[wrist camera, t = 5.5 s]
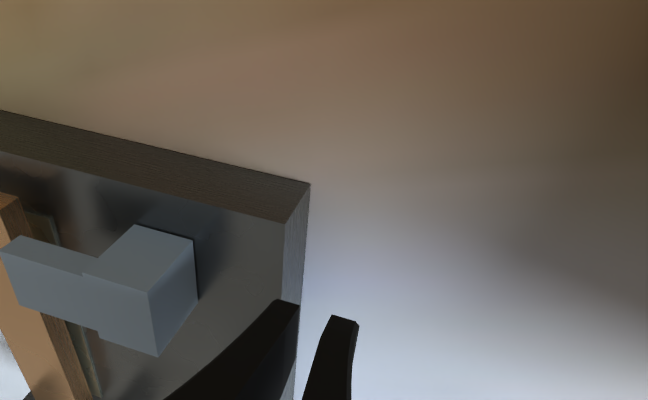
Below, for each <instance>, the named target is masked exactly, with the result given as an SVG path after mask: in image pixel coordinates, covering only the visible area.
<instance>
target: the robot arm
mask: <svg viewBox="0 0 648 400" xmlns="http://www.w3.org/2000/svg"><path fill="white" fill-rule="evenodd" d="M299 312H300V305H298V304H294V303H291V302H287V301H284V300H280V299H275V300H273V301H272V302H271V303H270V305H269V306H268V307H267V308H266V309H265V310H264V311H263V312H262V313H261V314H260V315H259V316H258V317H257V318H256V320H255V321H254V322H253V323H252V324H251V325H250V326H249V327H248V328H247V329H246V330H245V331H243V332H242V333H241V334H240V335H239V336H238V337H237V338H236V339H235V340H234V341H233V342H232V343H231V344H230V345H229V346H227V347H226V348H225V349H224V350H223V351H222V352H221V353H220V354H219V355H218V356H217V357H215V358H214V359H213V360H212V361H211V362H210V363H208V364H207V365H206V366H205V367H204V368H202V369H201V370H200V371H199V372H198V373H196V374H195V375H194V376H193V377H192V378H190V379H189V380H188V381H187V382H185V383H184V384H183V385H182V386H180V387H179V388H178V389H176V390H175V391H174V392H173V393H171V394H170V395H169V396H167V397H166V398H164V399H163V400H280V398H281V396H282V394H283V391H284V388H285V386H286V383H287V380H288V378H289V375H290V372H291V369H292V367H293V364H294V361H295V358H296V348H297V336H298V324H299ZM358 331H359V325H358V324H357V323H356V321H352V320H349V319H345V318H342V317H339V316H335V315H331V317H330V319H329V321H328V323H327V325H326V327H325V329H324V331H323V333H322V336H321V338H320V341H319V344H318V347H317V350H316V354H315V357H314V360H313V364H312V367H311V370H310V374H309V377H308V381H307V384H306V387H305V391H304V394H303V397H302V400H351V378H352V363H353V358H354V352H355V347H356V342H357V336H358Z"/></svg>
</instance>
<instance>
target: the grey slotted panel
mask: <svg viewBox="0 0 648 400" xmlns="http://www.w3.org/2000/svg"><path fill="white" fill-rule="evenodd" d="M310 186H311V184H307V183H303V182H299V181H295V180H291V179H286V178H282V177H278V176H274V175H270V174H265V173H261V172H257V171H253V170H249V169H244V168H240V167H236V166H232V165H228V164H223V163H219V162H215V161H211V160H207V159H202V158H198V157H194V156H190V155H186V154H181V153H177V152H173V151H169V150H165V149H160V148H156V147H152V146H148V145H144V144H139V143H135V142H131V141H127V140H123V139H118V138H114V137H110V136H106V135H102V134H97V133H93V132H89V131H85V130H81V129H76V128H72V127H68V126H64V125H60V124H55V123H51V122H47V121H43V120H39V119H34V118H30V117H26V116H22V115H18V114H13V113H9V112H5V111H1V110H0V192H3V193H7V194H10V195H14V196H18V197H19V198H20V201H21V204H22V207H23V209H24V212H25V215H26V217H27V220H28V223H29V226H30V228H31V231H32V234H33V237H34V239H35V240H39V241H42V242H46V243H49V244H52V245H56V246H59V247H62V248H66V249H69V250H73V251H76V252H79V253H83V254H86V255H89V256H93V257H96V258H98V257H99V256H101V255H102V254H103V253H104V252H105V251H106V250H107V249H108V248H109V247H110V246H111V245H112V244H114V243H115V242H116V241H117V240H118V239H119V238H120V237H121V236H122V235H123V234H124V233H125V232H127V231H128V230H129V229H130V228H131V227H132V226H133V225H134V224H135V225H139V226H142V227H146V228H150V229H153V230H157V231H160V232H164V233H168V234H171V235H175V236H179V237H182V238H186V239H189V240H193V251H194V262H195V273H196V285H197V296H198V304H197V305H196V306H195V308H194V309H193V310H192V312H191V313H190V315H189V316H188V317H187V319H186V320H185V321H184V323H183V324H182V326H181V327H180V328H179V330H178V331H177V332H176V334H175V335H174V337H173V338H172V339H171V341H170V342H169V343H168V345H167V346H166V348H165V349H164V350H163V352H162V353H161V354H160V356H159V357H155V356H152V355H149V354H146V353H143V352H140V351H137V350H134V349H131V348H128V347H125V346H122V345H119V344H116V343H113V342H110V341H107V340H104V339H101V338H99V334H98V331H96V330H93V329H90V328H87V327H84V326H81V325H78V324H75V323H72V322H69V321H66V320H64V321H65V324H66V327H67V329H68V332H69V335H70V338H71V340H72V343H73V346H74V348H75V351H76V354H77V357H78V359H79V362H80V365H81V368H82V370H83V373H84V376H85V379H86V381H87V384H88V387H89V389H90V392H91V395H92V398H93V400H163V399H164V398H166V397H167V396H169V395H170V394H171V393H173V392H174V391H175V390H176V389H178V388H179V387H180V386H182V385H183V384H184V383H185V382H187V381H188V380H189V379H190V378H192V377H193V376H194V375H195V374H196V373H198V372H199V371H200V370H201V369H202V368H204V367H205V366H206V365H207V364H208V363H210V362H211V361H212V360H213V359H214V358H215V357H217V356H218V355H219V354H220V353H221V352H222V351H223V350H224V349H225V348H226V347H227V346H229V345H230V344H231V343H232V342H233V341H234V340H235V339H236V338H237V337H238V336H239V335H240V334H241V333H242V332H243V331H245V330H246V329H247V328H248V327H249V326H250V325H251V324H252V323H253V322H254V321H255V320H256V318H257V317H258V316H259V315H260V314H261V313H262V312H263V311H264V310H265V309H266V308H267V307H268V306H269V305H270V303H271V302H272V301H273V300H275V299H280V300H284V301H287V302H291V303H294V304H298V305H300V309H301V296H302V284H303V272H304V260H305V247H306V235H307V223H308V211H309V198H310ZM299 321H300V312H299ZM298 333H299V324H298ZM297 346H298V336H297ZM296 358H297V348H296ZM296 358H295V361H294V364H293V367H292V369H291V372H290V375H289V378H288V380H287V383H286V386H285V388H284V391H283V394H282V396H281V398H280V400H293V395H294V382H295V370H296ZM23 400H35V398H34V396H33V394H32V392H31V391H30V392H29V393H28V395H27V396H26V397H25V398H24V399H23Z"/></svg>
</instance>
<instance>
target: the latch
mask: <svg viewBox="0 0 648 400" xmlns="http://www.w3.org/2000/svg"><path fill="white" fill-rule="evenodd" d="M0 256H1V259H2V261H3V264H4V267H5V269H6V272H7V274H8V277H9V279H10V282H11V285H12V287H13V290H14V292H15V295H16V298H17V300H18V303H19V305H20V306H23V307H26V308H29V309H33V310H36V311H39V312H42V313H45V314H48V315H51V316H54V317H57V318H60V319H63V320H66V321H69V322H72V323H75V324H78V325H81V326H84V327H87V328H90V329H93V330H96V331H98V334H99V338H101V339H104V340H107V341H110V342H113V343H116V344H119V345H122V346H125V347H128V348H131V349H134V350H137V351H140V352H143V353H146V354H149V355H152V356H155V357H159V356H160V354H161V353H162V352H163V350H164V349H165V348H166V346H167V345H168V343H169V342H170V341H171V339H172V338H173V337H174V335H175V334H176V332H177V331H178V330H179V328H180V327H181V326H182V324H183V323H184V321H185V320H186V319H187V317H188V316H189V315H190V313H191V312H192V310H193V309H194V308H195V306H196V305H197V304H198V296H197V285H196V273H195V262H194V251H193V240H189V239H186V238H182V237H179V236H175V235H171V234H168V233H164V232H160V231H157V230H153V229H150V228H146V227H142V226H139V225H135V224H134V225H133V226H132V227H131V228H130V229H129V230H128V231H127V232H125V233H124V234H123V235H122V236H121V237H120V238H119V239H118V240H117V241H116V242H115V243H114V244H112V245H111V246H110V247H109V248H108V249H107V250H106V251H105V252H104V253H103V254H102V255H101V256H99V257H98V258H96V257H93V256H89V255H86V254H83V253H79V252H76V251H73V250H69V249H66V248H62V247H59V246H56V245H52V244H49V243H46V242H42V241H39V240H35V239H32V238H29V237H25V236H22V235H19V236H18V237H17V238H15V239H14V240H12V241H11V242H10V243H8V244H7V245H6V246H4V247H3V248H1V249H0Z"/></svg>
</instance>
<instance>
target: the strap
mask: <svg viewBox="0 0 648 400" xmlns="http://www.w3.org/2000/svg"><path fill="white" fill-rule="evenodd" d="M19 235H22V236H25V237H29V238H32V239H34V237H33V234H32V231H31V228H30V226H29V223H28V220H27V217H26V215H25V212H24V209H23V207H22V204H21V201H20V198H19V197H18V196H14V195H10V194H7V193H3V192H0V249H1V248H3V247H4V246H6V245H7V244H8V243H10V242H11V241H12V240H14V239H15V238H17V237H18V236H19ZM0 329H1V331H2V333H3V335H4V337H5V339H6V341H7V343H8V345H9V347H10V349H11V351H12V353H13V355H14V357H15V359H16V361H17V363H18V365H19V368H20V370H21V372H22V374H23V376H24V378H25V380H26V382H27V384H28V386H29V388H30V390H31V392H32V394H33V396H34V398H35V400H93V398H92V395H91V392H90V389H89V387H88V384H87V381H86V379H85V376H84V373H83V370H82V368H81V365H80V362H79V359H78V357H77V354H76V351H75V348H74V346H73V343H72V340H71V338H70V335H69V332H68V329H67V327H66V324H65V321H64V320H63V319H60V318H57V317H54V316H51V315H48V314H45V313H42V312H39V311H36V310H33V309H29V308H26V307H23V306H20V305H19V303H18V300H17V298H16V295H15V292H14V290H13V287H12V285H11V282H10V279H9V277H8V274H7V272H6V269H5V267H4V264H3V261H2V259H1V256H0Z"/></svg>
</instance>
